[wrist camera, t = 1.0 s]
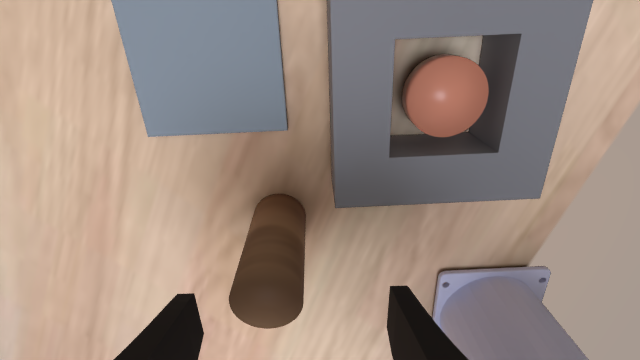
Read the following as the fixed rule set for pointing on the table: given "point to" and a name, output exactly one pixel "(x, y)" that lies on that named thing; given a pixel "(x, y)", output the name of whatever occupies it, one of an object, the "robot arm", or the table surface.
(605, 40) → the table surface
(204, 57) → the mat
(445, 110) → the orange domed disc
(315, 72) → the table surface
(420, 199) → the frame
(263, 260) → the dowel
